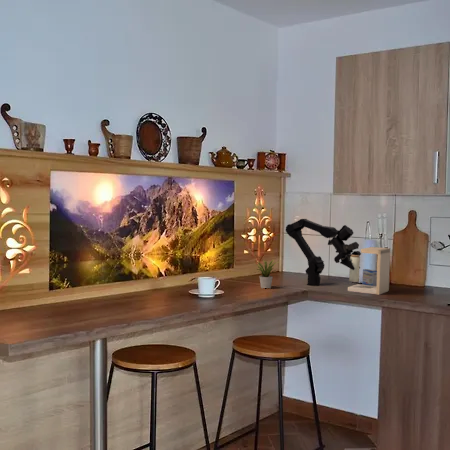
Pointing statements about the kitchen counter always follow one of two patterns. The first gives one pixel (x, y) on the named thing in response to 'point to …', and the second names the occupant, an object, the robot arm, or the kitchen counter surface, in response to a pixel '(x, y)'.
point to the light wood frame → (382, 272)
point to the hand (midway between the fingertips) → (356, 269)
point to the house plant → (266, 274)
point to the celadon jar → (355, 273)
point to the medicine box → (369, 277)
